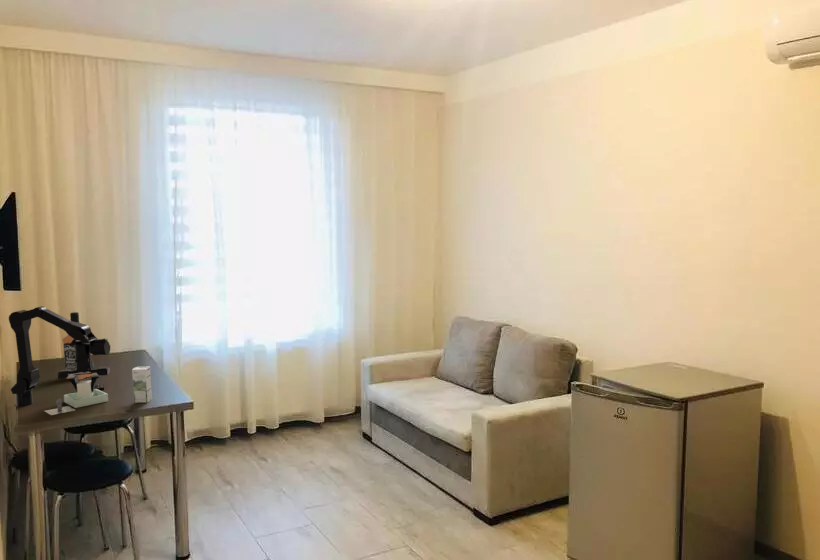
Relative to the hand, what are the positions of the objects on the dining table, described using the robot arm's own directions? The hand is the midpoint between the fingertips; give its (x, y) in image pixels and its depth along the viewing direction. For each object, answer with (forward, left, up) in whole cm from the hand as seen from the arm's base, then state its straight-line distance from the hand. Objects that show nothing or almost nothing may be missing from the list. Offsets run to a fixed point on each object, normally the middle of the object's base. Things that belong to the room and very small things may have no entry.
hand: (85, 392), depth 276 cm
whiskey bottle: (-56, +16, -5) cm, 58 cm away
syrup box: (+15, +18, -5) cm, 24 cm away
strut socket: (0, 0, -2) cm, 2 cm away
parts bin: (0, 0, -5) cm, 5 cm away
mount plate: (+6, -12, -5) cm, 14 cm away
